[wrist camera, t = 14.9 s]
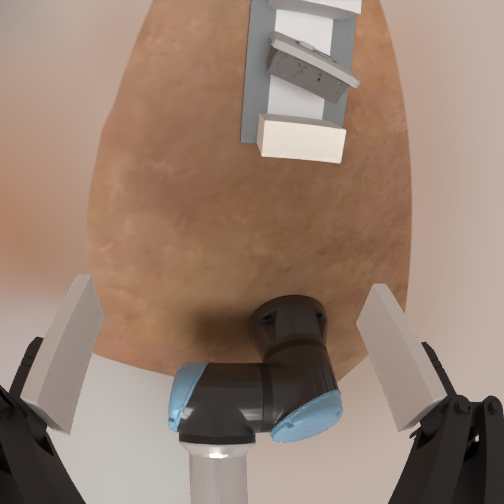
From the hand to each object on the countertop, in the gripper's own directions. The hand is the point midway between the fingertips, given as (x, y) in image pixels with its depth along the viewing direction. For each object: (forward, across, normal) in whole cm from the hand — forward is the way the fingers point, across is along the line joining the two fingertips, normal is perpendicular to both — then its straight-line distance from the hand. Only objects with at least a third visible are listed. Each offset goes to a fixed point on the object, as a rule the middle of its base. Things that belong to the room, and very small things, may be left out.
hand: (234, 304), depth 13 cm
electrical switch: (+27, -8, -12) cm, 30 cm away
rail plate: (+28, -8, -13) cm, 31 cm away
